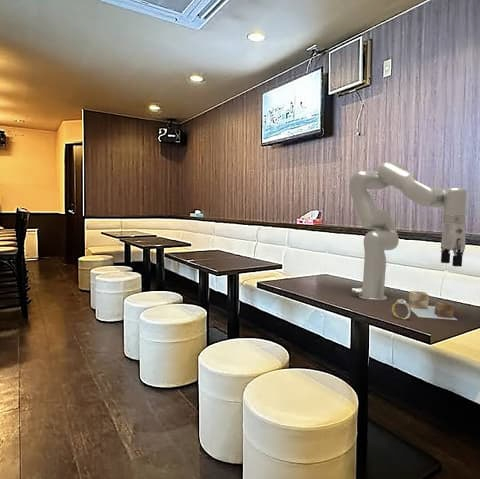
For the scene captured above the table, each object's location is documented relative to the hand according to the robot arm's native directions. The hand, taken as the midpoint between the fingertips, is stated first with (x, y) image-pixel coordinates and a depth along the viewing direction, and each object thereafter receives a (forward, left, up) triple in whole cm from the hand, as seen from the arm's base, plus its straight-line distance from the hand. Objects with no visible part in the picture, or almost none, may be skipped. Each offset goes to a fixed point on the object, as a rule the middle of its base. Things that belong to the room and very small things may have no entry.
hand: (450, 264), depth 152 cm
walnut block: (-1, -1, -20) cm, 20 cm away
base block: (-7, +11, -20) cm, 24 cm away
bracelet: (-19, -9, -21) cm, 30 cm away
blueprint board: (-5, +5, -21) cm, 22 cm away
